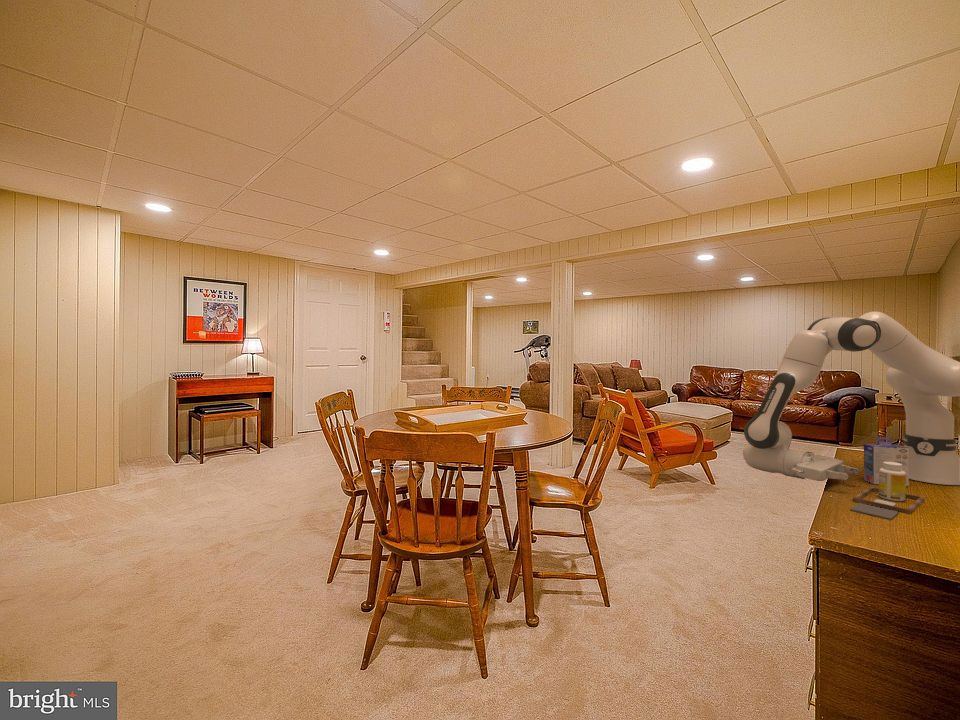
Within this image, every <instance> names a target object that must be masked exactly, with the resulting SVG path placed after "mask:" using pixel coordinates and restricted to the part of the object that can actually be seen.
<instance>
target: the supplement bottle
mask: <svg viewBox="0 0 960 720" xmlns="http://www.w3.org/2000/svg"><path fill="white" fill-rule="evenodd" d="M878 488H879V492H878V495H879V497H880V498H881V499H884V500H886V501H887V500H888V501H891V502H904V501H906V494H907V490H906V489H907V486H906V473H905V472H904V471H902V464H900V463H895V462H883V468H881V469H879V484H878Z"/></svg>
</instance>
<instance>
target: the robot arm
mask: <svg viewBox="0 0 960 720" xmlns="http://www.w3.org/2000/svg"><path fill="white" fill-rule="evenodd" d="M833 350H834V351H840V352H842V351H843V352H844V351H846V352H847V351H849V352H853V353H854V352H855V353H856V352H863V351H865V350H869V351H870V352H871V353H872V354H873V355H875V356H876V357H877V358H878V359H879V360H880V361H881V362H882V363H883V364H884V365H886V366H887V367H888V369H887V371H886V373H885V380H886V382H887V385H888V386H889V387H890V388H892V389H893V390H894V391H895V392H896V393H897V395H898V396H899V398H900V400H901V403H902V405H903V407H904V413H905V433H904V434H903V439H902V440H903V444H904V445H903V446H904V447H907V448H909V480H913V481H918V482H921V483H922V482H924V483H928V484H934V485H935V484H937V485H948V486H960V455H958V454H957V452H956V449H957V442H956V439H955V416H954V413H953V412H952V411H951V410H949V409H947V407H945V406H944V405H943V404H942V401H941V400H940V398H939V396H940V397H960V361H958V360H955V359H954V358H952V357H949V356H946V355H945V354H943V353H941V352H939V351H937V350H936V349H933V348H932V347H930V346H928V345H927V344H925V343H923V342H922V341H921V340H919V338H918V337H916V336H915V335H914V334H912V333H911V332H910V331H909V330H908V329H907V328H906V327H905V326H903V325H902V324H901V323H900V322H898V321H897V320H896V319H894V318H893V317H891V316H889V315H888V314H886V313H884V312H882V311H881V312H880V311H869V312H866V313H864V314H862V315H860V316H859V317H856V318H855V317H848V316H839V317H823V318H819V319H817V320H815V321H814V322H812V323H811V324H809V326H808V327H807V329H803V330H800V331H798V332H797V333H795V335H794V336H793V338H792V340H791V341H790V342H789V344H788V346H787V348H786V350H785V352H784V354H783V356H782V359H781V362H780V364H779V366H778V369H777V372H776V374H775V376H774V379H773V380H772V382H771V384H770V386H769V388H768V390H767V392H766V394H765V395H764V398H763V399H762V402H761V404H760V406H759V408H758V410H757V412H756V413H755V414H754V416H753V417H751V418H750V419H749V420H748V421H747V423H746V424H745V426H744V428H743V433H744V434H743V435H744V438H745V440H746V441H747V442H748V444H745V446H744V447H743V453H742V454H743V459H744V461H745V463H746V464H747V465H748V466H750V468H753V469H755V470H759V471H761V472H762V471H763V472H766V473H770V474H771V473H772V474H782V475H783V476H785V477H791V478H797V479H801V480H805V479H808V480H813V481H818V482H824V481H826V480H828V479H833V480H834V479H835V480H844V481H847V480H848V479H849V477H850V475H858V474H859V469H858V468H857V467H851V466H849V465H846V464H844V461H843V460H841V459H838V458H834V457H830V456H824V455H820V454H815V452H812V451H802V450H795V449H790V448H791V447H790V446H791V443H792V439H793V432H792V429H791V428H790V426H789V425H788V424H787V423H786V422H783V421H781V420H780V419H781V417H782V414H783V412H784V411H785V408H786V406H787V404H788V403H789V401H790V399H791V397H793V396H794V395H795V394H797V393H798V392H800V391H803V390H805V389H807V388H809V387H812V385H813V384H814V383H815V382H816V380H817V378H819V375H820V373H821V370H822V368H823V365H824V363H825V360H826V357H827V355H828V354H829V353H830V352H832V351H833Z"/></svg>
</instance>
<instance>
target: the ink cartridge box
mask: <svg viewBox="0 0 960 720" xmlns="http://www.w3.org/2000/svg"><path fill="white" fill-rule="evenodd" d="M881 440H886V441H881ZM876 442H877V443H863V481H865V482H867V481H868V482H867V483H869V482H870V483H869V484H872V485H879V469H881V468H883V462H895V463H900V464H902V471H904V472H905V473H906V487H909V485H910V484H909V483H910V481H909V480H910V479H909V448H907V447H904V446H905V445H900V444H893V443H892V441H891V439H890V437H882V436H881V437H879V436H876Z"/></svg>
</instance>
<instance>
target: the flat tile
mask: <svg viewBox="0 0 960 720" xmlns="http://www.w3.org/2000/svg"><path fill="white" fill-rule="evenodd" d="M873 502H878V503H883V504H887V505H892V506H897V503H896V502H894V501H889V500H888V501H887V500H883V499H878V498H876V499H875V500H873Z"/></svg>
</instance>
